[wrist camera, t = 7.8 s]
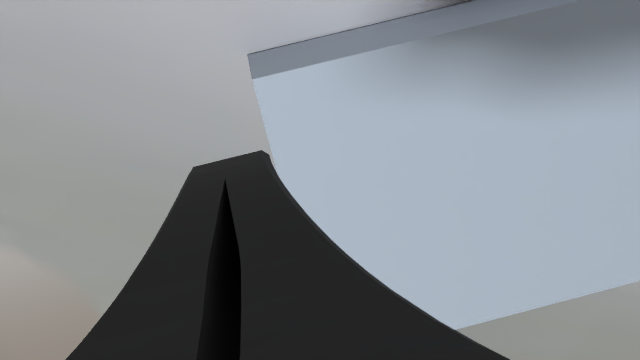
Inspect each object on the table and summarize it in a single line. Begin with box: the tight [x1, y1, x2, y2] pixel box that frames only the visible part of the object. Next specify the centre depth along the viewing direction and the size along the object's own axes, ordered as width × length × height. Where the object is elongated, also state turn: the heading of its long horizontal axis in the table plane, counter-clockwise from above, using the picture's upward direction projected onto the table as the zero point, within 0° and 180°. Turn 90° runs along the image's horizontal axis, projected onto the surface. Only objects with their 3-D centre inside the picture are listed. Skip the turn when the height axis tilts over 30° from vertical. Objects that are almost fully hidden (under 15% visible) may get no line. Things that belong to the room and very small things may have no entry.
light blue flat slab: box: [248, 0, 640, 330], centre depth 22 cm, size 15×14×2 cm
